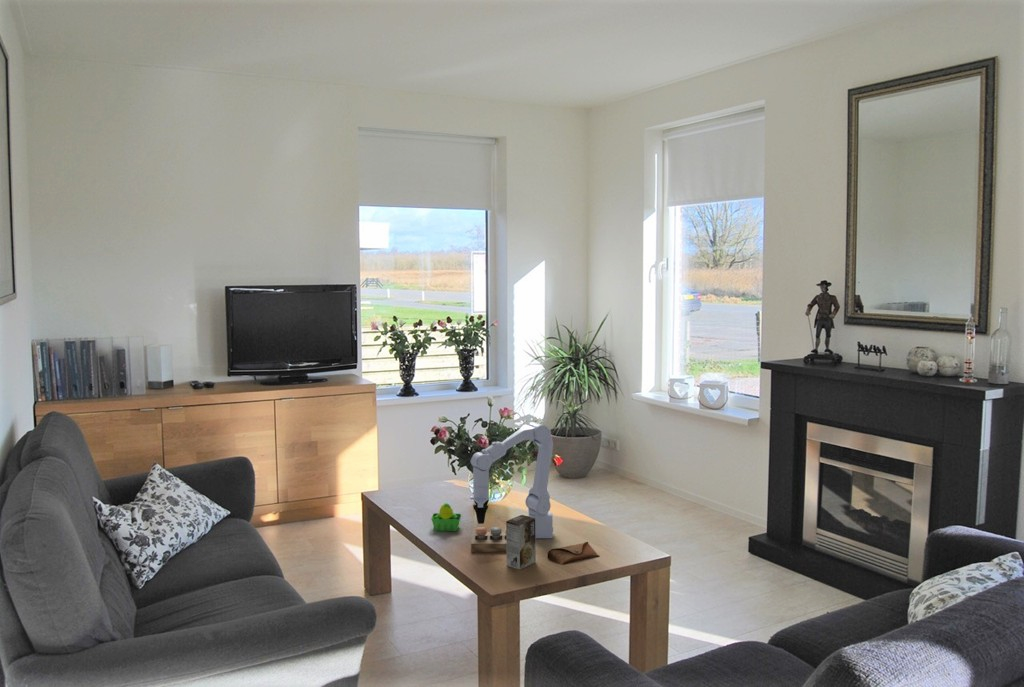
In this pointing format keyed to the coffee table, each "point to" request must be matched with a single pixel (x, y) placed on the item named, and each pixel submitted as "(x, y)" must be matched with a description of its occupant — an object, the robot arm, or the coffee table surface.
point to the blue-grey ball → (495, 533)
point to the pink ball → (481, 532)
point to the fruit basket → (446, 519)
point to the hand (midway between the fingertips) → (481, 520)
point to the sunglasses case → (571, 553)
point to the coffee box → (520, 542)
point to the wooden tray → (488, 543)
